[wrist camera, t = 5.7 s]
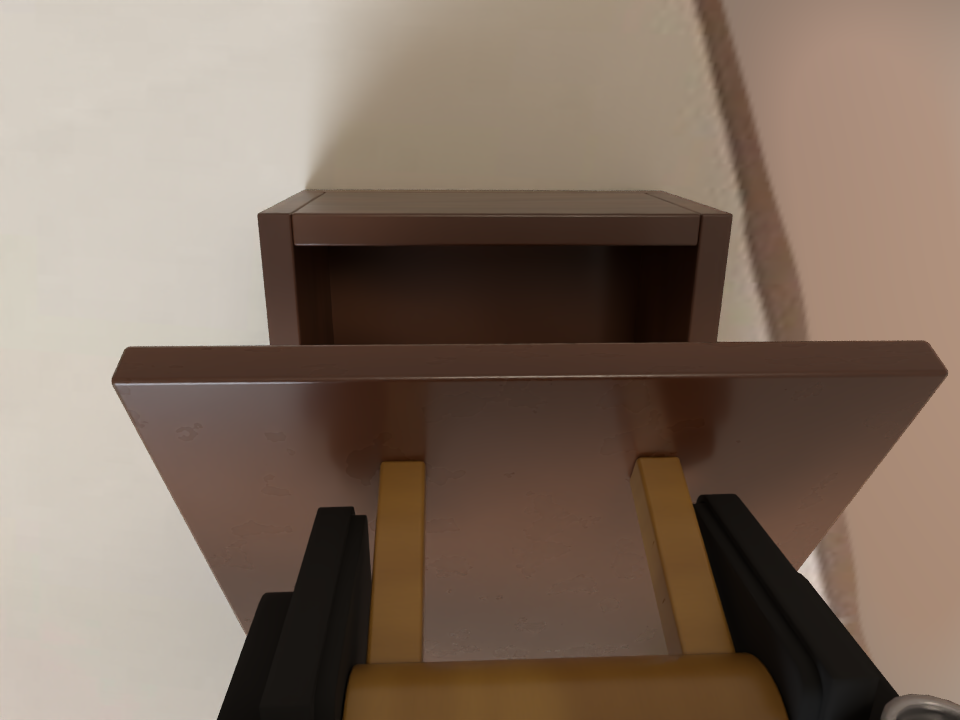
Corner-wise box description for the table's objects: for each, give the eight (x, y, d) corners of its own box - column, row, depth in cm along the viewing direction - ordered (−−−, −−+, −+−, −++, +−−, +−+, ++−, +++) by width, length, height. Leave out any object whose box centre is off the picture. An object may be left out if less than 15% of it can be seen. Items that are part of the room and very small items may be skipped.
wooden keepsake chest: (303, 189, 22) (256, 213, 16) (663, 190, 22) (734, 213, 17) (333, 597, 27) (305, 718, 22) (626, 590, 28) (671, 706, 22)
